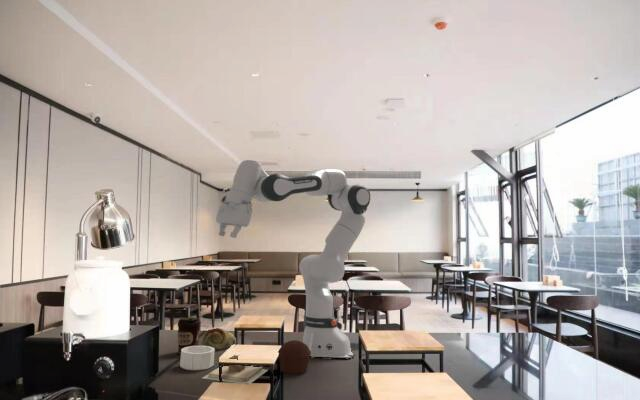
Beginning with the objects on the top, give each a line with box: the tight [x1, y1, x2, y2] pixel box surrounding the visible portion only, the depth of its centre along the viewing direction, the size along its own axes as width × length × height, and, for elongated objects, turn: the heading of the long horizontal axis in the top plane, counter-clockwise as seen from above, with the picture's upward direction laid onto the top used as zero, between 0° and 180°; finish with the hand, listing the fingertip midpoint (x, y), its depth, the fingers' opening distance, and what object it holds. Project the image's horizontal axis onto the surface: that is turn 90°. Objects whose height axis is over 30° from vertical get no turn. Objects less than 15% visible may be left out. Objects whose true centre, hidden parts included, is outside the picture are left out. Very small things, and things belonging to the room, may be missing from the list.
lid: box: [208, 354, 264, 382], centre depth 139 cm, size 13×13×5 cm
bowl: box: [179, 345, 216, 371], centre depth 146 cm, size 11×11×6 cm
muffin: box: [277, 339, 311, 375], centre depth 146 cm, size 12×11×10 cm
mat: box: [202, 368, 269, 384], centre depth 138 cm, size 16×16×1 cm
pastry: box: [200, 327, 237, 351], centre depth 175 cm, size 14×12×8 cm
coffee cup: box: [177, 316, 201, 355], centre depth 164 cm, size 9×8×13 cm
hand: (226, 236), depth 155 cm, fingers open, 8 cm apart
